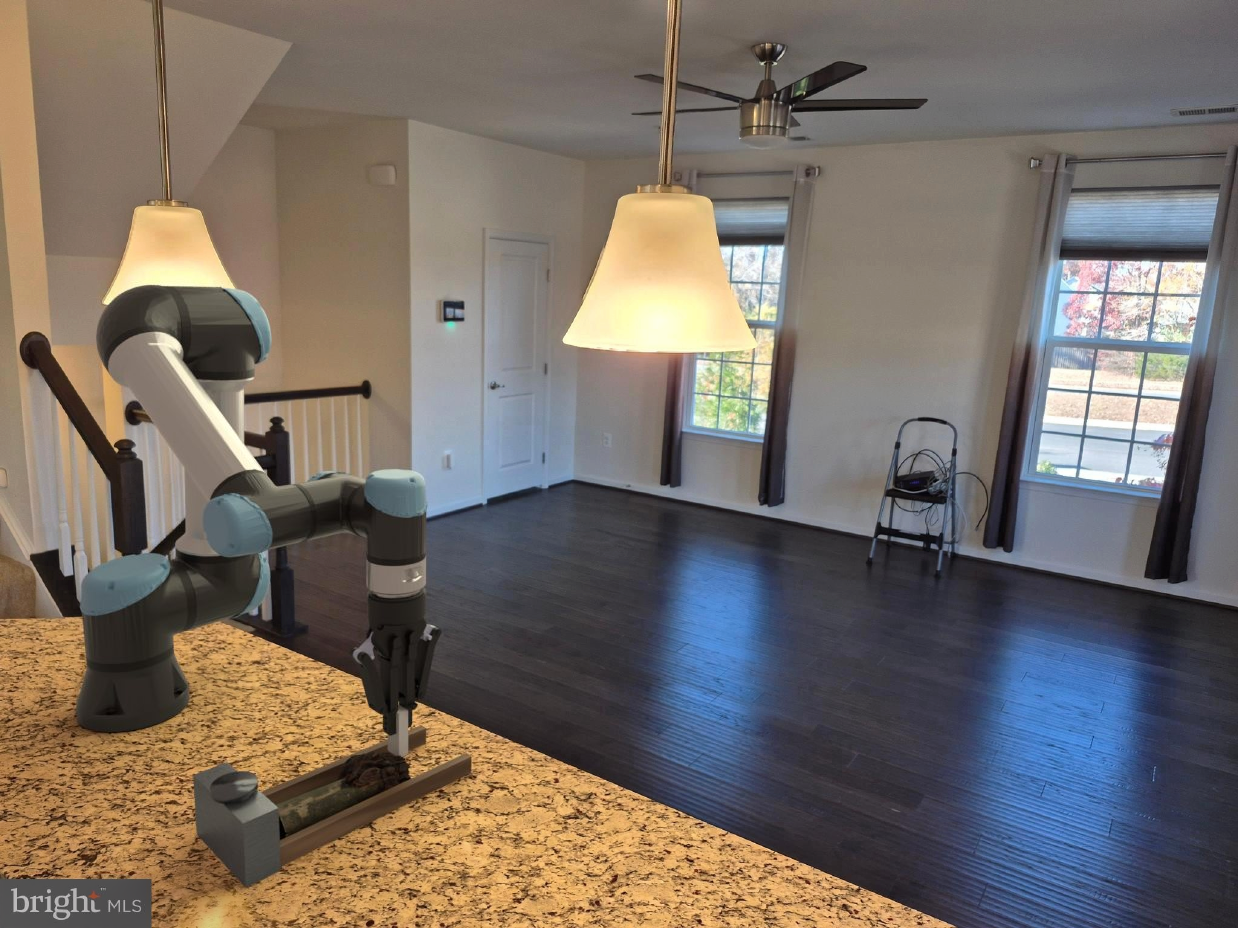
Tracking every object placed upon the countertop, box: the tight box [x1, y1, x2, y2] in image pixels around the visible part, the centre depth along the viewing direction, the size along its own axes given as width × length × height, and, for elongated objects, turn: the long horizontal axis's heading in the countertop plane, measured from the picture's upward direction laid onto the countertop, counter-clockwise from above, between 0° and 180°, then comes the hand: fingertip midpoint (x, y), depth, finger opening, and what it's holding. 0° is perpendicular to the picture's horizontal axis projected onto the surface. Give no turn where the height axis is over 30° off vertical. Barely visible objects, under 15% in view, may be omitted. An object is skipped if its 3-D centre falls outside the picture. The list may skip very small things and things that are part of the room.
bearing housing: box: [192, 761, 282, 889], centre depth 97 cm, size 13×5×9 cm, turn 49°
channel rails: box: [260, 724, 473, 867], centre depth 109 cm, size 12×28×2 cm, turn 139°
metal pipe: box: [276, 752, 412, 840], centre depth 106 cm, size 18×7×6 cm, turn 135°
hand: (397, 751), depth 113 cm, fingers closed
